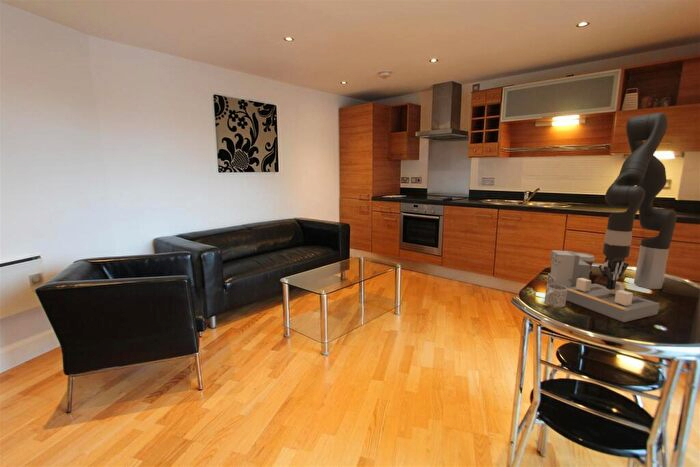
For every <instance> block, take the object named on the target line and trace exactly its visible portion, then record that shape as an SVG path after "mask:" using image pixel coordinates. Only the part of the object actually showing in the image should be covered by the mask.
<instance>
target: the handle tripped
mask: <svg viewBox="0 0 700 467" xmlns="http://www.w3.org/2000/svg"><path fill="white" fill-rule="evenodd" d="M625 288H626V284H625V283H623V282H619V281H616V285H615V289H614V290H610V289H609V291H608V292H609V293H612V294H615V295H616V291H618V290H624V291H626V289H625Z"/></svg>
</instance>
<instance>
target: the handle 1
mask: <svg viewBox="0 0 700 467" xmlns="http://www.w3.org/2000/svg"><path fill="white" fill-rule="evenodd" d="M591 284H592V280H591V279H589V280H588V279H585V278H578V279H577V282H576V285H575V287H576V289H578V290H581V291H584V292H586V291H590V288H591Z"/></svg>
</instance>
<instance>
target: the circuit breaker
mask: <svg viewBox="0 0 700 467" xmlns="http://www.w3.org/2000/svg"><path fill="white" fill-rule="evenodd" d="M576 253H577V252H575V251H571V250H555V249H554V250H553V249H551V253H550V255H549V256H550V257H549V261H550V262H551V266H550V272H549V273H548V274H547V282H546V283H547V284H546V285H548V284H558V285H562V286H565V287H567V288H571V287H576V282H577V279H578V278H585V279H588V280H590V274H591V275H592V274H593V271H592V269H591V270H590V267H591V265H589V264H587V263H585V262H584V261H581V260H579V258H580V256H579V255H577V254H576ZM591 268H592V267H591Z"/></svg>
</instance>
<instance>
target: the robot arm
mask: <svg viewBox="0 0 700 467" xmlns="http://www.w3.org/2000/svg"><path fill="white" fill-rule="evenodd" d="M625 129H626V130H625V131H626V137H627V141H628V144H629V145H628V146H629V148H630V149H629V150H630V154H629V155H628V156H627V158H625V159H624V161H623V162H622V164H621V165H622V166H621V168H620V171H619V173H618V175H617V178H616V179H615V180H614V181H613V182H612V183H611V185H609V187H608V189H607V190H606V193H605V195H604V199H605V203H606V204H608V206H615V207H616V206H617V207H628V208H627V209H626V210H625V211H621V212H612V213H609V215H608V219H607V220H608V221H607V227H606V232H605V235H604V242H603V247H602V248H603V249H602V254H603V255H604V256H605V259H604V261H603V262H604V263H603V264H599V265H598V269H599V270H600V273H601V276H602V278H604V279H606V284H605V285H606V286H605V287H606V288H607V289H610V290H614V289H615V285H616V282H617V280H618V279H619V278H621V277H622V276H623V275H624V273H625V272H626V270H627V268H628V267H629V263H628V262H625V261H626V259H627V258H629V256H630V252H631V245H632V240H633V229H634V227H633V226H634V221H635V218H636V216H637V215H636V214H637V213H638V217H639V218H638V220H639V224H640V227H641V228H642V229H644V230H647V231H654V232H655V231H656V232H658V234H657V235H656V236H651V237H646V238H645V237H643V238H642V239H641V241H640V246H639V251H638V257H637V264H636V269H635V275H634V279H633V280H634V281H633V285H636V286H638V287H642V288H646V289H651V290H653V289H654V290H659V289H662V288H663V284H664V279H665V274H666V268H667V261H668V256H669V251H670V246H671V242H672V240H673V235H674V231H675V228H676V223H677V218H678V217H677V216H678V215H677V213H676V211H675V210H672V209H665V208H654V205H653V203H654V202H653V201H654V200H655V198H656V197H657V195H659V194H660V193H661V191H662V190H663V189H664V188H665V186H666V184H667V173H666V172H667V171H666V167H665V164H664V163H663V162H662V161H661V160H660V159H659V158H658V157H656V156H655V153H656V151H657V150H658V148H659V145H660V144H661V142H662V140H663V139H664V137H665V135H666V133H667V129H668V117H667V115H666V114H665V113H663V112H655V113H648V114H642V115H635V116H631V117H630V118H628V120H627V122H626V126H625ZM644 141H645V142H644Z"/></svg>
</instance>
